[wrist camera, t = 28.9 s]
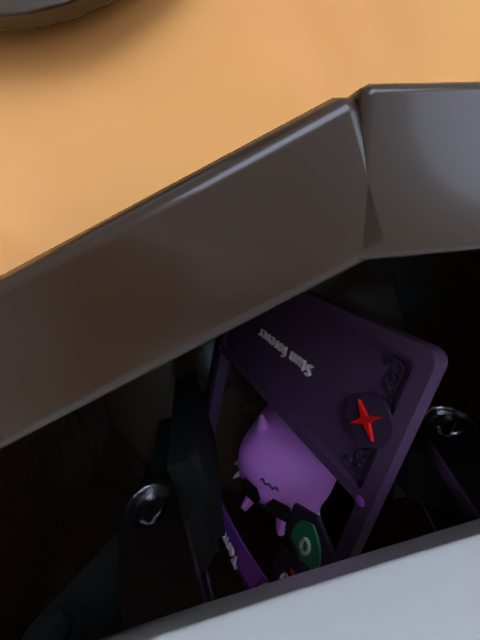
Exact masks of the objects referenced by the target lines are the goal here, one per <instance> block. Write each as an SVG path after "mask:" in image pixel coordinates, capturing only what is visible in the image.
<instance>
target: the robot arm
mask: <svg viewBox="0 0 480 640" xmlns="http://www.w3.org/2000/svg"><path fill="white" fill-rule="evenodd" d="M389 494H390V495H391V497H392V498H393V500H395V499H399V498H402V497H405V496H407V498H410V499H412V500H414V501H415V504H416V507H417V509H418V511H419V513H420V515H421V517H422V520H423V522H424V524H425V526H426V528H427V530H428V532H429V534H427V535H423V536H420V537H417V538H413V539H410V540H407V541H404V542H400V543H397V544H394V545H391V546H387V547H384V548H381V549H377V550H374V551H371V552H368V553H364V554H361V555H358V556H355V557H351V558H348V559H345V560H342V561H338V562H335V563H332V564H329V565H325V566H322V567H319V568H316V569H312V570H309V571H306V572H303V573H299V574H296V575H293V576H290V577H287V578H283V579H280V580H277V581H274V582H271V583H268V584H264V585H261V586H258V587H255V588H252V589H248V590H245V591H242V592H239V593H236V594H232V595H229V596H226V597H223V598H220V599H217V600H215V596H214V593H213V589H212V585H211V582H210V578H209V575H208V571H207V568H206V567H207V566H208V564H209V563H210V561H211V560H212V558H213V557H214V555H215V553H216V552H219V551H220V544H219V537H223V536H225V526H224V517H223V507H222V497H221V488H220V478H219V468H218V459H217V449H216V441H215V436H214V433H213V429H212V426H211V422H210V419H209V415H208V412H207V408H206V405H205V402H204V398H203V395H202V391H201V388H200V384H199V381H198V378H193V379H192V377H191V375H189V376H185V377H181V378H177V379H175V387H174V397H173V408H172V417H171V418H167V419H163V420H160V421H159V424H158V429H157V436H156V442H155V449H154V455H153V461H152V468H151V474H150V481H149V482H146V483H144V484H143V485H141V486H139V487H138V488H136V489H135V490H134V491H133V492H132V493H131V494H130V495H129V496H128V497H127V499H126V500H125V501H124V503H123V505H122V507H121V509H120V512H119V519H118V529H119V532H118V533H117V534H116V535H115V536H114V537H113V538H112V539H111V540H110V541H109V542H108V543H107V544H106V545H105V547H104V548H103V549H102V550H101V551H100V552H99V553H98V554H97V555H96V556H95V557H94V558H93V559H92V560H91V561H90V562H89V563H88V564H87V565H86V566H85V567H84V569H83V570H82V571H81V572H80V573H79V574H78V575H77V576H76V577H75V578H74V579H73V580H72V581H71V582H70V583H69V584H68V585H67V586H66V587H65V588H64V590H63V591H62V592H61V593H60V594H59V595H58V596H57V597H56V598H55V599H54V600H53V601H52V602H51V603H50V604H49V605H48V606H47V607H46V608H45V609H44V611H43V612H42V613H41V614H40V615H39V616H38V617H37V618H36V620H35V621H34V622H33V623H32V624H31V626H30V627H29V628H28V629H27V631H26V633H25V634H24V636H23V638H22V639H21V640H480V420H479V419H478V418H477V417H476V416H475V415H473V414H472V413H471V412H469V411H467V410H465V409H463V408H460V407H457V406H454V405H449V404H430V405H429V407H428V409H427V411H426V413H425V416H424V418H423V420H422V422H421V424H420V426H419V429H418V431H417V433H416V435H415V437H414V439H413V441H412V444H411V446H410V448H409V450H408V452H407V454H406V457H405V459H404V461H403V463H402V465H401V467H400V469H399V472H398V474H397V476H396V478H395V480H394V482H393V485H392V487H391V489H390V491H389Z"/></svg>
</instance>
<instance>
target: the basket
mask: <svg viewBox="0 0 480 640" xmlns="http://www.w3.org/2000/svg"><path fill="white" fill-rule="evenodd" d="M308 290H310V291H313V292H315V293H317V294H320V295H322V296H324V297H326V298H329V299H331V300H333V301H336V302H338V303H340V304H342V305H345V306H347V307H349V308H352V309H354V310H356V311H359V312H361V313H363V314H365V315H368V316H370V317H372V318H375V319H377V320H379V321H381V322H384V323H386V324H388V325H391V326H393V327H395V328H398V329H400V330H402V331H404V332H407V333H409V334H411V335H414V336H416V337H418V338H421V339H423V340H425V341H427V342H430V343H432V344H434V345H437V346H438V347H440V348H442V349H443V351H444V352H445V353H446V355H447V357H448V365H447V368H446V370H445V372H444V375H443V377H442V379H441V381H440V383H439V385H438V388H437V390H436V392H435V394H434V396H433V398H432V400H431V403H430V404H449V405H454V406H457V407H460V408H463V409H465V410H467V411H469V412H471V413H472V414H473V415H475V416H476V417H477V418H478V419H479V420H480V82H441V83H391V84H368V85H366V86H364V87H362V88H360V89H359V90H358V91H356V92H355V93H353V94H352V95H351V96H349V97H348V98H332V99H330V100H328V101H326V102H324V103H322V104H320V105H318V106H317V107H315V108H313V109H311V110H309V111H307V112H305V113H304V114H302V115H300V116H298V117H296V118H294V119H292V120H290V121H289V122H287V123H285V124H283V125H281V126H279V127H277V128H276V129H274V130H272V131H270V132H268V133H266V134H264V135H262V136H261V137H259V138H257V139H255V140H253V141H251V142H249V143H248V144H246V145H244V146H242V147H240V148H238V149H236V150H235V151H233V152H231V153H229V154H227V155H225V156H223V157H221V158H220V159H218V160H216V161H214V162H212V163H210V164H208V165H207V166H205V167H203V168H201V169H199V170H197V171H195V172H193V173H192V174H190V175H188V176H186V177H184V178H182V179H180V180H179V181H177V182H175V183H173V184H171V185H169V186H167V187H165V188H164V189H162V190H160V191H158V192H156V193H154V194H152V195H151V196H149V197H147V198H145V199H143V200H141V201H139V202H138V203H136V204H134V205H132V206H130V207H128V208H126V209H124V210H123V211H121V212H119V213H117V214H115V215H113V216H111V217H110V218H108V219H106V220H104V221H102V222H100V223H98V224H96V225H95V226H93V227H91V228H89V229H87V230H85V231H83V232H82V233H80V234H78V235H76V236H74V237H72V238H70V239H68V240H67V241H65V242H63V243H61V244H59V245H57V246H55V247H54V248H52V249H50V250H48V251H46V252H44V253H42V254H41V255H39V256H37V257H35V258H33V259H31V260H29V261H27V262H26V263H24V264H22V265H20V266H18V267H16V268H14V269H13V270H11V271H9V272H7V273H5V274H3V275H1V276H0V640H21V639H22V638H23V636H24V634H25V633H26V631H27V629H28V628H29V627H30V626H31V624H32V623H33V622H34V621H35V620H36V618H37V617H38V616H39V615H40V614H41V613H42V612H43V611H44V609H45V608H46V607H47V606H48V605H49V604H50V603H51V602H52V601H53V600H54V599H55V598H56V597H57V596H58V595H59V594H60V593H61V592H62V591H63V590H64V588H65V587H66V586H67V585H68V584H69V583H70V582H71V581H72V580H73V579H74V578H75V577H76V576H77V575H78V574H79V573H80V572H81V571H82V570H83V569H84V567H85V566H86V565H87V564H88V563H89V562H90V561H91V560H92V559H93V558H94V557H95V556H96V555H97V554H98V553H99V552H100V551H101V550H102V549H103V548H104V547H105V545H106V544H107V543H108V542H109V541H110V540H111V539H112V538H113V537H114V536H115V535H116V534H117V533H118V532H119V529H118V519H119V512H120V509H121V507H122V505H123V503H124V501H125V500H126V499H127V497H128V496H129V495H130V494H131V493H132V492H133V491H134V490H135V489H136V488H138V487H139V486H141V485H143V484H144V483H146V482H149V481H150V474H151V468H152V461H153V455H154V449H155V442H156V436H157V429H158V424H159V421H160V420H163V419H167V418H171V417H172V408H173V397H174V387H175V379H177V378H181V377H185V376H189V375H191V377H192V379H193V378H198V381H199V384H200V388H201V391H202V395H203V398H204V402H205V405H206V408H207V404H208V399H209V393H210V388H211V383H212V377H213V372H214V367H215V362H216V356H217V351H218V346H219V340H220V336H221V335H222V334H224V333H226V332H228V331H230V330H232V329H234V328H236V327H238V326H240V325H242V324H244V323H246V322H248V321H250V320H251V319H253V318H255V317H257V316H259V315H261V314H263V313H265V312H267V311H269V310H271V309H273V308H275V307H277V306H279V305H281V304H282V303H284V302H286V301H288V300H290V299H292V298H294V297H296V296H298V295H300V294H302V293H304V292H306V291H308ZM267 405H268V403H267V402H266V401H265V400H264V399H263V398H262V396H261V395H260V394H259V393H258V392H257V391H256V390H255V389H254V388H253V386H252V385H251V384H250V383H249V382H248V381H247V380H246V379H245V378H244V377H243V375H242V374H241V373H240V372H239V371H238V370H237V369H236V368H235V367H234V366H233V364H232V363H231V362H230V363H229V368H228V373H227V378H226V382H225V387H224V392H223V397H222V402H221V407H220V412H219V417H218V421H217V426H216V431H215V441H216V449H217V459H218V468H219V478H220V488H221V497H222V500H223V502H224V504H225V506H226V508H227V510H228V512H229V514H230V516H231V518H232V520H233V523H234V525H235V527H236V529H237V531H238V533H239V535H240V537H241V539H242V541H243V543H244V545H245V547H246V548H247V550H248V551H249V553H250V554H251V556H252V557H253V559H254V560H255V562H256V563H257V565H258V566H259V567H260V569H261V570H262V572H263V573H264V575H265V576H266V578H267V579H268V581H269V582H270V583H271V582H274V581H276V577H275V574H274V571H273V565H274V562H275V559H276V556H277V553H278V550H279V547H280V546H281V545H283V546H285V547H286V548H287V549H288V550H290V551H291V552H292V553H293V554H294V551H293V548H292V545H291V542H290V539H289V536H288V533H287V530H286V526H287V523H288V521H287V522H286V525H285V534H284V535H283V536H279V535H278V534H277V531H276V517H275V516H273V515H271V514H269V513H268V512H266V511H265V510H263V509H261V508H260V507H258V506H257V505H255V504H253V505H252V506H251V507H250V508H249V509H248V510H246V511H244V510H243V508H242V509H241V504H242V502H243V500H244V498H245V496H246V495H245V494H244V493H243V490H242V486H241V481H242V477H237V478H235V479H233V477H234V475H235V474H236V473H237V472H238V471H239V467H238V465H234V463H235V462H236V461H237V460H238V455H239V449H240V446H241V443H242V441H243V439H244V437H245V435H246V433H247V432H248V430H249V429H250V427H251V426H252V424H253V423H254V422H255V420H256V419H257V418H258V416H259V415H260V414H261V412H262V411H263V410H264V409H265V408H266V407H267ZM353 508H354V499H353V497H352V496H351V495H350V494H349V492H348V491H347V490H346V489H345V488H344V487H343V486H342V485H341V484H340V483H339V481H338V480H336V482H335V484H334V487H333V489H332V491H331V493H330V495H329V496H328V498H327V499H326V501H325V502H324V503H323V504H322V506H321V508H320V516H321V518H322V521H323V523H324V526H325V528H326V531H327V534H328V536H329V539H330V541H331V544H332V546H333V549H334V551H335V550H336V548H337V546H338V543H339V541H340V538H341V536H342V534H343V531H344V529H345V527H346V524H347V522H348V520H349V517H350V515H351V512H352V510H353ZM427 534H429V532H428V530H427V528H426V526H425V524H424V522H423V520H422V517H421V515H420V513H419V511H418V509H417V507H416V504H415V501H414V500H412V499H410V498H407V496H405V497H402V498H399V499H395V500H393V498H392V497H391V495H390V494H389V493H388V495H387V498H386V500H385V502H384V504H383V506H382V508H381V510H380V513H379V515H378V517H377V519H376V521H375V523H374V526H373V528H372V530H371V532H370V534H369V536H368V539H367V541H366V543H365V545H364V547H363V549H362V551H361V554H364V553H368V552H371V551H374V550H377V549H381V548H384V547H387V546H391V545H394V544H397V543H400V542H404V541H407V540H410V539H413V538H417V537H420V536H423V535H427ZM219 544H220V551H219V552H216V553H215V555H214V557H213V558H212V560H211V561H210V563H209V564H208V566H207V567H206V568H207V571H208V575H209V578H210V582H211V585H212V589H213V593H214V596H215V600H217V599H220V598H223V597H226V596H229V595H232V594H236V593H239V592H242V591H245V587H244V585H243V583H242V580H241V578H240V576H239V573H238V571H237V569H236V570H234V567H233V565H232V563H231V559H232V557H231V556H230V555H229V550H227V547H226V544H225V542H224V541H223V537H219ZM361 554H360V555H361Z"/></svg>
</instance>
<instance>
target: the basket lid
mask: <svg viewBox="0 0 480 640" xmlns="http://www.w3.org/2000/svg"><path fill="white" fill-rule="evenodd" d="M112 1H113V0H0V31H1V30H14V29H27V28H38V27H42V26H46V25H50V24H54V23H58V22H62V21H66V20H70V19H74V18H77V17H79V16H81V15H83V14H86V13H88V12H90V11H92V10H95V9H97V8H99V7H101V6H103V5H106V4H108V3H110V2H112Z"/></svg>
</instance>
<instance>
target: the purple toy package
mask: <svg viewBox="0 0 480 640" xmlns="http://www.w3.org/2000/svg"><path fill="white" fill-rule="evenodd" d="M230 362H231V363H232V364H233V366H234V367H235V368H236V369H237V370H238V371H239V372H240V373H241V374H242V375H243V377H244V378H245V379H246V380H247V381H248V382H249V383H250V384H251V385H252V386H253V388H254V389H255V390H256V391H257V392H258V393H259V394H260V395H261V396H262V398H263V399H264V400H265V401H266V402H267V403H268V405H267V407H266V408H265V409H264V410H263V411H262V412H261V414H260V415H259V416H258V418H257V419H256V420H255V422H254V423H253V424H252V426H251V427H250V429H249V430H248V432H247V433H246V435H245V437H244V439H243V441H242V443H241V446H240V449H239V455H238V460H237V461H236V462H235V463H234V465H238V467H239V471H238V472H237V473H236V474H235V475H234V477H233V479H235V478H237V477H242V481H241V486H242V490H243V493H244V494H245V495H246V496H245V498H244V500H243V502H242V504H241V509H242V508H243V510H244V511H246V510H248V509H249V508H250V507H251V506H252V505H253V504H255V505H257V506H258V507H260V508H261V509H263V510H265V511H266V512H268V513H269V514H271V515H273V516H275V517H276V531H277V534H278V535H279V536H283V535H284V534H285V525H286V522H287V521H288V523H287V526H286V530H287V533H288V536H289V539H290V542H291V545H292V548H293V551H294V554H293V553H292V552H291V551H290V550H288V549H287V548H286V547H285V546H283V545H281V546H280V547H279V550H278V553H277V556H276V559H275V562H274V565H273V571H274V574H275V577H276V581H277V580H280V579H283V578H287V577H290V576H293V575H296V574H299V573H303V572H306V571H309V570H312V569H316V568H319V567H322V566H325V565H329V564H332V563H335V562H338V561H342V560H345V559H348V558H351V557H355V556H358V555H360V554H361V551H362V549H363V547H364V545H365V543H366V541H367V539H368V536H369V534H370V532H371V530H372V528H373V526H374V523H375V521H376V519H377V517H378V515H379V513H380V510H381V508H382V506H383V504H384V502H385V500H386V498H387V495H388V493H389V491H390V489H391V487H392V485H393V482H394V480H395V478H396V476H397V474H398V472H399V469H400V467H401V465H402V463H403V461H404V459H405V457H406V454H407V452H408V450H409V448H410V446H411V444H412V441H413V439H414V437H415V435H416V433H417V431H418V429H419V426H420V424H421V422H422V420H423V418H424V416H425V413H426V411H427V409H428V407H429V405H430V403H431V400H432V398H433V396H434V394H435V392H436V390H437V388H438V385H439V383H440V381H441V379H442V377H443V375H444V372H445V370H446V368H447V365H448V357H447V355H446V353H445V352H444V351H443V349H442V348H440V347H438V346H437V345H434V344H432V343H430V342H427V341H425V340H423V339H421V338H418V337H416V336H414V335H411V334H409V333H407V332H404V331H402V330H400V329H398V328H395V327H393V326H391V325H388V324H386V323H384V322H381V321H379V320H377V319H375V318H372V317H370V316H368V315H365V314H363V313H361V312H359V311H356V310H354V309H352V308H349V307H347V306H345V305H342V304H340V303H338V302H336V301H333V300H331V299H329V298H326V297H324V296H322V295H320V294H317V293H315V292H313V291H310V290H308V291H306V292H304V293H302V294H300V295H298V296H296V297H294V298H292V299H290V300H288V301H286V302H284V303H282V304H281V305H279V306H277V307H275V308H273V309H271V310H269V311H267V312H265V313H263V314H261V315H259V316H257V317H255V318H253V319H251V320H250V321H248V322H246V323H244V324H242V325H240V326H238V327H236V328H234V329H232V330H230V331H228V332H226V333H224V334H222V335H221V336H220V340H219V346H218V351H217V356H216V362H215V367H214V372H213V377H212V383H211V388H210V393H209V399H208V404H207V412H208V415H209V419H210V422H211V426H212V429H213V433H214V436H215V431H216V426H217V421H218V417H219V412H220V407H221V402H222V397H223V392H224V387H225V382H226V378H227V373H228V368H229V363H230ZM336 480H338V481H339V483H340V484H341V485H342V486H343V487H344V488H345V489H346V490H347V491H348V492H349V494H350V495H351V496H352V497H353V499H354V508H353V510H352V512H351V515H350V517H349V520H348V522H347V524H346V527H345V529H344V531H343V534H342V536H341V538H340V541H339V543H338V546H337V548H336V550H335V551H334V549H333V546H332V544H331V541H330V539H329V536H328V534H327V531H326V528H325V526H324V523H323V521H322V518H321V516H320V508H321V506H322V504H323V503H324V502H325V501H326V499H327V498H328V496H329V495H330V493H331V491H332V489H333V487H334V484H335V482H336ZM222 507H223V517H224V526H225V536H223V541H224V542H225V544H226V547H227V550H229V555H230V556H231V557H232V559H231V563H232V565H233V567H234V570H236V569H237V571H238V573H239V576H240V578H241V580H242V583H243V585H244V587H245V590H248V589H252V588H255V587H258V586H261V585H264V584H268V583H270V582H269V581H268V579H267V578H266V576H265V575H264V573H263V572H262V570H261V569H260V567H259V566H258V565H257V563H256V562H255V560H254V559H253V557H252V556H251V554H250V553H249V551H248V550H247V548H246V547H245V545H244V543H243V541H242V539H241V537H240V535H239V533H238V531H237V529H236V527H235V525H234V523H233V520H232V518H231V516H230V514H229V512H228V510H227V508H226V506H225V504H224V502H223V500H222Z"/></svg>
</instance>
